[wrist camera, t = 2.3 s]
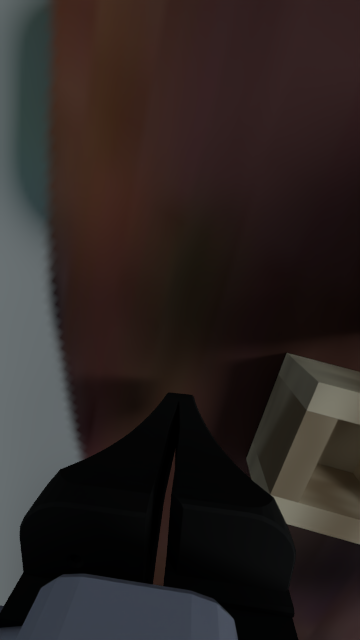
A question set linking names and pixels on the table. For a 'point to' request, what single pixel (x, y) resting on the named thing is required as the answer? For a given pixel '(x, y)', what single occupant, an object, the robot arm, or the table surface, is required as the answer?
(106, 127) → the table surface
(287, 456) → the beige hollow square block
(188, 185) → the table surface
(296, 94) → the table surface
